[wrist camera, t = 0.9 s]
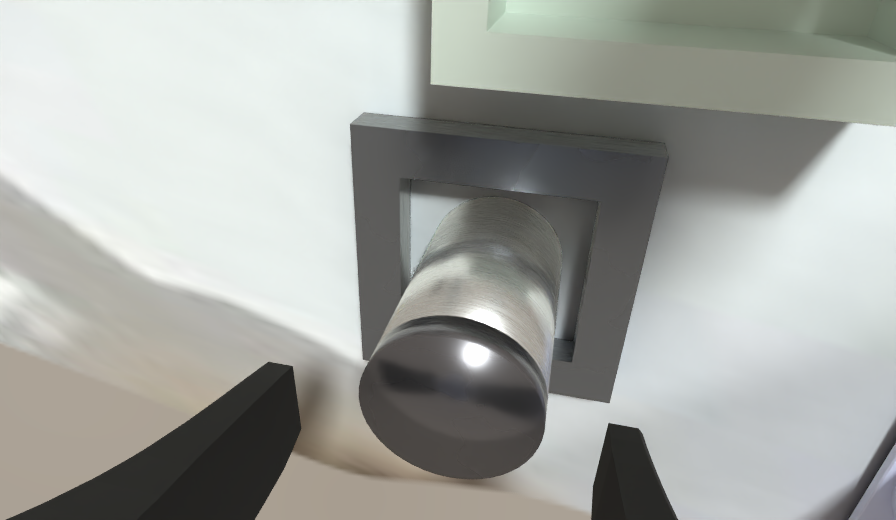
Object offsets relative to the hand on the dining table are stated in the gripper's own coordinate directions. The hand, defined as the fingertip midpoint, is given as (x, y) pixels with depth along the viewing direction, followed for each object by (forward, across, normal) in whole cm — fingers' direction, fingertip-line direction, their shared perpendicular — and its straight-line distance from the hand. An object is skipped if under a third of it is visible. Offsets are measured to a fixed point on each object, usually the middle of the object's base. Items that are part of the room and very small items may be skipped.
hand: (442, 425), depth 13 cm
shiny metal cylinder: (+8, 0, 0) cm, 8 cm away
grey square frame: (+8, 0, 0) cm, 8 cm away
